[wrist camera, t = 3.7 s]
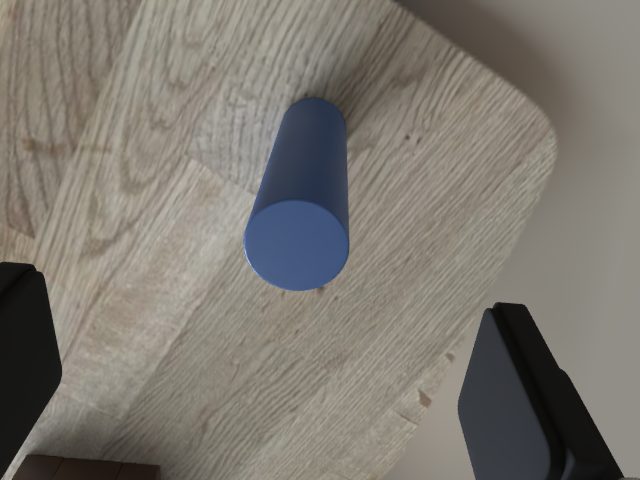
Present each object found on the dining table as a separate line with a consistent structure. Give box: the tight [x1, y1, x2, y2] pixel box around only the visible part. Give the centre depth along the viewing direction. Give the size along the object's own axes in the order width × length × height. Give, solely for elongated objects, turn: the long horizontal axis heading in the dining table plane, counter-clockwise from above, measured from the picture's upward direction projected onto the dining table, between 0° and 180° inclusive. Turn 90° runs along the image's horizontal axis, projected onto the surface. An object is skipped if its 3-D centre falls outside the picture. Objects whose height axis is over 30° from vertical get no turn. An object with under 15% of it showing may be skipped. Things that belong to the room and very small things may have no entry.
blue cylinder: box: [244, 98, 349, 291], centre depth 20 cm, size 3×3×11 cm
